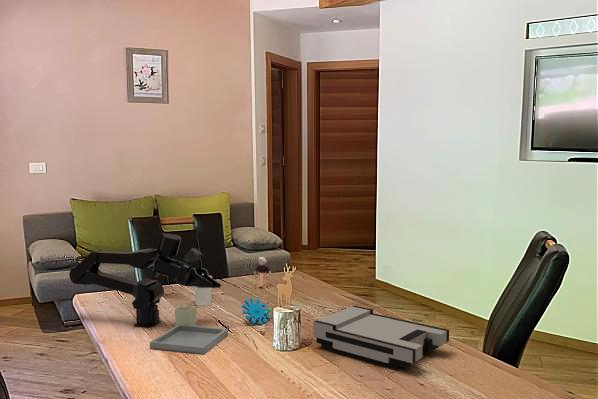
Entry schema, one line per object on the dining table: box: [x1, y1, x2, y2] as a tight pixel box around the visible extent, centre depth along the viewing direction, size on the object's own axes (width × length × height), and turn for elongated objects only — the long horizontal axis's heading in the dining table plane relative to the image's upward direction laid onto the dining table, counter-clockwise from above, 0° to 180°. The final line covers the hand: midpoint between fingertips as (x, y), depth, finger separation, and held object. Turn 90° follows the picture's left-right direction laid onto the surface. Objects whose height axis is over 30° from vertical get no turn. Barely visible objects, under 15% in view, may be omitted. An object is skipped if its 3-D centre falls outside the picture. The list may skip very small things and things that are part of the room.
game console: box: [313, 305, 450, 371], centre depth 165 cm, size 21×32×8 cm, turn 50°
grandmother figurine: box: [253, 256, 272, 289], centre depth 237 cm, size 8×4×13 cm, turn 80°
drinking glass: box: [193, 275, 213, 307], centre depth 214 cm, size 7×7×10 cm
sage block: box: [174, 304, 197, 327], centre depth 188 cm, size 5×5×6 cm
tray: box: [149, 324, 229, 356], centre depth 173 cm, size 17×17×2 cm
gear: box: [241, 297, 272, 326], centre depth 193 cm, size 11×6×10 cm
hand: (216, 285), depth 183 cm, fingers open, 9 cm apart
